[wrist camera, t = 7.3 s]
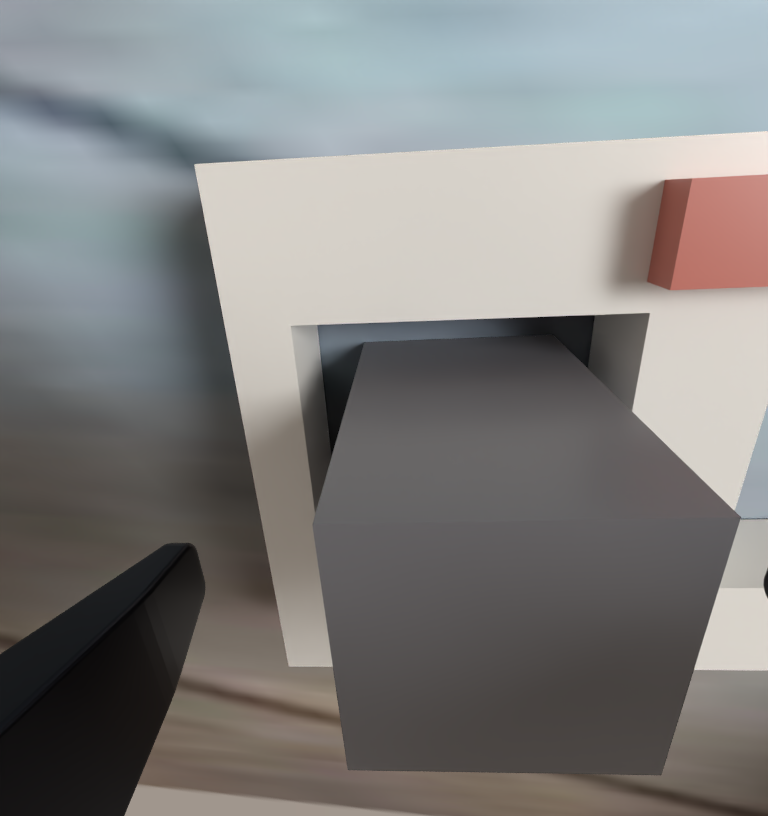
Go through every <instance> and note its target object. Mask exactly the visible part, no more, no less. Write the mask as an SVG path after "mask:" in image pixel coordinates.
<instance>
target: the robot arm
mask: <svg viewBox="0 0 768 816" xmlns="http://www.w3.org/2000/svg"><path fill="white" fill-rule="evenodd" d="M763 586H764V591H765V594H766V596H767V598H768V568H767V571H766V574H765V576H764V581H763ZM204 595H205V580H204V576H203V572H202V568H201V565H200V561H199V557H198V553H197V550H196V548H195V546H194V545H193V544H190V543H170V544H166V545H164V546H162V547H161V548H159V549H158V550H156V551H155V552H153V553H152V554H150V555H149V556H147V557H146V558H144V559H143V560H141V561H140V562H138V563H137V564H135V565H134V566H132V567H131V568H129V569H128V570H126V571H125V572H123V573H122V574H120V575H119V576H117V577H116V578H114V579H113V580H111V581H110V582H108V583H107V584H105V585H104V586H102V587H101V588H99V589H98V590H96V591H95V592H93V593H92V594H90V595H89V596H87V597H86V598H84V599H83V600H81V601H80V602H78V603H77V604H75V605H74V606H72V607H71V608H69V609H68V610H66V611H65V612H63V613H62V614H60V615H59V616H57V617H56V618H54V619H53V620H51V621H50V622H48V623H47V624H45V625H43V626H42V627H40V628H39V629H37V630H36V631H34V632H33V633H31V634H30V635H28V636H27V637H25V638H24V639H22V640H21V641H19V642H18V643H16V644H15V645H13V646H12V647H10V648H9V649H7V650H6V651H4V652H3V653H1V654H0V816H124V815H125V812H126V810H127V808H128V805H129V803H130V800H131V798H132V796H133V793H134V791H135V788H136V786H137V784H138V781H139V779H140V776H141V774H142V771H143V769H144V767H145V764H146V762H147V759H148V757H149V755H150V752H151V750H152V747H153V745H154V742H155V740H156V738H157V735H158V733H159V730H160V728H161V726H162V723H163V721H164V718H165V716H166V713H167V711H168V709H169V706H170V703H171V701H172V698H173V696H174V693H175V690H176V687H177V684H178V681H179V678H180V675H181V672H182V668H183V665H184V662H185V659H186V655H187V652H188V649H189V645H190V642H191V639H192V635H193V632H194V629H195V625H196V622H197V619H198V615H199V612H200V609H201V606H202V602H203V599H204Z"/></svg>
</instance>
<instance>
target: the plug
mask: <svg viewBox="0 0 768 816" xmlns="http://www.w3.org/2000/svg"><path fill="white" fill-rule="evenodd" d="M740 519H741V517H740V516H739V515H738V514H737V513H736V512H735V511H734V510H733V509H732V508H731V507H730V506H729V505H728V504H727V503H726V502H725V501H724V500H723V499H722V498H721V497H719V496H718V495H717V494H716V493H715V492H714V491H713V490H712V489H711V488H710V487H709V486H708V485H707V484H706V483H705V482H704V481H703V480H702V479H701V478H700V477H699V476H698V475H697V474H696V473H695V472H694V471H693V470H692V469H691V468H690V467H689V466H688V465H687V464H686V463H685V462H683V461H682V460H681V459H680V458H679V457H678V456H677V455H676V454H675V453H674V452H673V451H672V450H671V449H670V448H669V447H668V446H667V445H666V444H665V443H664V442H663V441H662V440H661V439H660V438H659V437H658V436H657V435H656V434H655V433H654V432H653V431H652V430H651V429H650V428H649V427H647V426H646V425H645V424H644V423H643V422H642V421H641V420H640V419H639V418H638V417H637V416H636V415H635V414H634V413H633V412H632V411H631V410H630V409H629V408H628V407H627V406H626V405H625V404H624V403H623V402H622V401H621V400H620V399H619V398H618V397H617V396H616V395H615V394H614V393H613V392H612V391H610V390H609V389H608V388H607V387H606V386H605V385H604V384H603V383H602V382H601V381H600V380H599V379H598V378H597V377H596V376H595V375H594V374H593V373H592V372H591V371H590V370H589V369H588V368H587V367H586V366H585V365H584V364H583V363H582V362H581V361H580V360H579V359H578V358H577V357H576V356H574V355H573V354H572V353H571V352H570V351H569V350H568V349H567V348H566V347H565V346H564V345H563V344H562V343H561V342H560V341H559V340H558V339H557V338H556V337H555V336H554V335H530V336H505V337H481V338H456V339H432V340H408V341H383V342H364V346H363V349H362V353H361V356H360V359H359V363H358V366H357V370H356V373H355V377H354V380H353V384H352V387H351V391H350V394H349V398H348V401H347V405H346V408H345V412H344V415H343V419H342V422H341V426H340V429H339V433H338V436H337V440H336V443H335V447H334V450H333V454H332V457H331V461H330V464H329V468H328V471H327V475H326V478H325V482H324V485H323V489H322V492H321V496H320V499H319V503H318V506H317V510H316V513H315V517H314V520H313V524H312V526H313V533H314V540H315V547H316V554H317V561H318V567H319V574H320V581H321V588H322V595H323V602H324V609H325V616H326V623H327V630H328V637H329V644H330V650H331V657H332V664H333V671H334V678H335V685H336V692H337V699H338V706H339V713H340V720H341V727H342V734H343V740H344V747H345V754H346V761H347V768H348V770H372V771H435V772H497V773H559V774H621V775H661V774H662V771H663V768H664V765H665V761H666V758H667V755H668V752H669V748H670V745H671V742H672V739H673V736H674V732H675V729H676V726H677V723H678V719H679V716H680V713H681V710H682V706H683V703H684V700H685V697H686V693H687V690H688V687H689V684H690V681H691V677H692V674H693V671H694V668H695V664H696V661H697V658H698V655H699V651H700V648H701V645H702V642H703V638H704V635H705V632H706V629H707V626H708V622H709V619H710V616H711V613H712V609H713V606H714V603H715V600H716V596H717V593H718V590H719V587H720V583H721V580H722V577H723V574H724V570H725V567H726V564H727V561H728V558H729V554H730V551H731V548H732V545H733V541H734V538H735V535H736V532H737V528H738V525H739V522H740Z"/></svg>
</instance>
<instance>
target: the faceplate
mask: <svg viewBox="0 0 768 816" xmlns="http://www.w3.org/2000/svg"><path fill="white" fill-rule="evenodd" d="M194 165H195V171H196V176H197V181H198V187H199V192H200V197H201V203H202V208H203V213H204V219H205V224H206V229H207V235H208V240H209V245H210V250H211V256H212V261H213V266H214V272H215V277H216V282H217V288H218V293H219V298H220V304H221V309H222V314H223V320H224V325H225V330H226V335H227V341H228V346H229V351H230V357H231V362H232V367H233V373H234V378H235V383H236V389H237V394H238V399H239V405H240V410H241V415H242V420H243V426H244V431H245V436H246V442H247V447H248V452H249V458H250V463H251V468H252V474H253V479H254V484H255V490H256V495H257V500H258V505H259V511H260V516H261V521H262V527H263V532H264V537H265V543H266V548H267V553H268V559H269V564H270V569H271V575H272V580H273V585H274V590H275V596H276V601H277V606H278V612H279V617H280V622H281V628H282V633H283V638H284V644H285V649H286V654H287V660H288V665H289V666H294V667H333V664H332V657H331V650H330V644H329V637H328V630H327V623H326V616H325V609H324V602H323V595H322V588H321V581H320V574H319V567H318V561H317V554H316V547H315V540H314V533H313V526H312V524H313V520H314V517H315V513H316V510H317V506H318V503H319V499H320V496H321V492H322V489H323V485H324V482H325V478H326V475H327V471H328V468H329V464H330V461H331V449H330V439H329V430H328V420H327V411H326V402H325V392H324V383H323V374H322V364H321V355H320V346H319V336H318V327H317V325H325V324H353V323H381V322H409V321H437V320H465V319H493V318H521V317H549V316H577V315H595V319H594V326H593V334H592V341H591V349H590V356H589V363H588V369H589V370H590V371H591V372H592V373H593V374H594V375H595V376H596V377H597V378H598V379H599V380H600V381H601V382H602V383H603V384H604V385H605V386H606V387H607V388H608V389H609V390H610V391H612V392H613V393H614V394H615V395H616V396H617V397H618V398H619V399H620V400H621V401H622V402H623V403H624V404H625V405H626V406H627V407H628V408H629V409H630V410H631V411H632V412H633V413H634V414H635V415H636V416H637V417H638V418H639V419H640V420H641V421H642V422H643V423H644V424H645V425H646V426H647V427H649V428H650V429H651V430H652V431H653V432H654V433H655V434H656V435H657V436H658V437H659V438H660V439H661V440H662V441H663V442H664V443H665V444H666V445H667V446H668V447H669V448H670V449H671V450H672V451H673V452H674V453H675V454H676V455H677V456H678V457H679V458H680V459H681V460H682V461H683V462H685V463H686V464H687V465H688V466H689V467H690V468H691V469H692V470H693V471H694V472H695V473H696V474H697V475H698V476H699V477H700V478H701V479H702V480H703V481H704V482H705V483H706V484H707V485H708V486H709V487H710V488H711V489H712V490H713V491H714V492H715V493H716V494H717V495H718V496H719V497H721V498H722V499H723V500H724V501H725V502H726V503H727V504H728V505H729V506H730V507H731V508H732V509H733V510H734V511H735V508H736V505H737V501H738V498H739V495H740V492H741V488H742V485H743V482H744V479H745V475H746V472H747V469H748V466H749V463H750V459H751V456H752V453H753V450H754V446H755V443H756V440H757V437H758V434H759V430H760V427H761V424H762V421H763V417H764V414H765V411H766V408H767V404H768V131H765V132H747V133H730V134H712V135H695V136H677V137H660V138H642V139H625V140H608V141H590V142H573V143H555V144H538V145H520V146H503V147H485V148H468V149H450V150H433V151H416V152H398V153H381V154H363V155H346V156H328V157H311V158H293V159H276V160H259V161H241V162H224V163H206V164H194ZM767 568H768V519H744V520H740V522H739V525H738V528H737V532H736V535H735V538H734V541H733V545H732V548H731V551H730V554H729V558H728V561H727V564H726V567H725V570H724V574H723V577H722V580H721V583H720V587H719V590H718V593H717V596H716V600H715V603H714V606H713V609H712V613H711V616H710V619H709V622H708V626H707V629H706V632H705V635H704V638H703V642H702V645H701V648H700V651H699V655H698V658H697V661H696V664H695V668H694V670H768V598H767V596H766V594H765V591H764V586H763V581H764V576H765V574H766V571H767Z"/></svg>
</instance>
